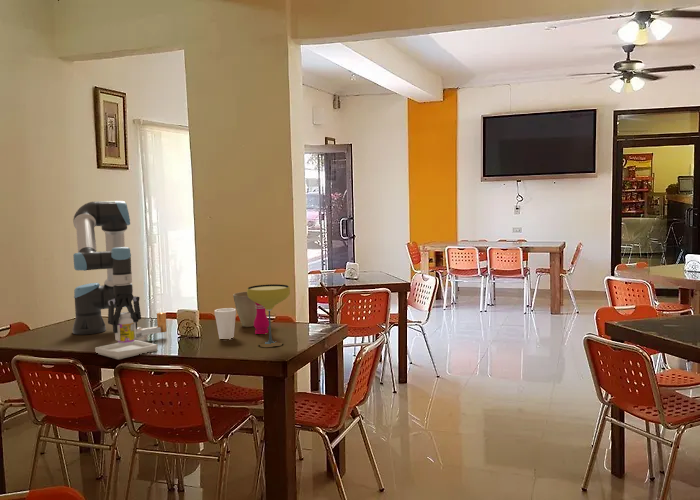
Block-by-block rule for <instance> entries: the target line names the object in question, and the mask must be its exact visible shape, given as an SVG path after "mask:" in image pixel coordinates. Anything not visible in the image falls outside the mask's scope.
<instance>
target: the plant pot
mask: <svg viewBox="0 0 700 500" xmlns="http://www.w3.org/2000/svg"><path fill="white" fill-rule="evenodd" d="M232 296H233V297H232V298H233V302H234V306H235V309H236V314H237V316H238V318H239V321H240V324H241V326H242V327H245V328H248V327H249V328H251V327H254V320H255V318H256V314H257V310H256V308H255V307H256V306H255V305H256V304H255V302H254V301H252V300H251V299H249V298H248V295H247V291H241V292H236V293H233V295H232Z"/></svg>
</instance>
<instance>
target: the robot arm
mask: <svg viewBox="0 0 700 500" xmlns="http://www.w3.org/2000/svg"><path fill="white" fill-rule="evenodd" d="M72 221H73V227H74V228H75V229H76V244H77V245H76V246H77V252H74V253H73V269H74V270H75V271H85V272H87V271H96V270H97V271H98V270H106V276H107V278H106V279H105V280H104V281H103V283H104V284H102V285H100V282H91V283H85V284H81V285H78V286H76V287H75V288H74V296H73V298H74V311H75V319H74V321H73V322H74V323H73V326H72V334H73V335H81V336H82V335H94V334H95V335H96V334H99V333H103V332H105V331H106V330H107V326H106V323H105V321H104V318H103V315H102V310H106V309H108V310H107V311H108V313H107V324H108V325H112V332H113V334H114V337H115V339H114V340H115V341H117V342H118V341H120V325H118V321H119V318H120V313H122V310H123V308H127V312H130V313H131V316H130V318H131V319H133V323H134V338H136V329H137V327H138V323H139V321H140V320H142V315H141V314H142V313H141V308H140V307H141V306H140V296H136V295H135V296H134V295H133V292H134V291H133V290H134V289H133V288H134V287H133V275H132V273H133V272H132V259H131V258H132V254H131V248H130V247H129V246H125V245H126V244H125V232H126V231H127V230H128V226H130V225H131V219H130V214H129V209H128V205H127V202H125V200H124V201H123V200H103V201H90V202H87V203H84V204H83V205H82V206H80V207H79V208H78V209H77V210H76V211H75V213H74V216H73V219H72ZM95 227H101V230H102V232H104V235H105V250H104V251H97V250H98V249H97V244H96V243H97V242H96V241H97V240H96V231H95ZM132 302H133V303H132Z"/></svg>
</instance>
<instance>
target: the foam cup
mask: <svg viewBox="0 0 700 500" xmlns="http://www.w3.org/2000/svg"><path fill="white" fill-rule="evenodd" d="M236 315H237V310H236V308H233V307H225V308H224V307H223V308H217V309H214V316H215V317H214V318H215V323H216V328H217V333H218V338H219V340H220V339H229V340H232V339H231V338H233V337H234V336H235V326H236ZM233 339H234V338H233Z"/></svg>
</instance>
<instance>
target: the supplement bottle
mask: <svg viewBox="0 0 700 500" xmlns="http://www.w3.org/2000/svg"><path fill="white" fill-rule="evenodd" d="M130 316H131V313H130V312H128V311H126V312H125V311H124V312H121V313H120V317H119V321H118V325H120V341H117V343H118V344H120V345H128V344H132V343H134V323H133V319H131V317H130Z"/></svg>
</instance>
